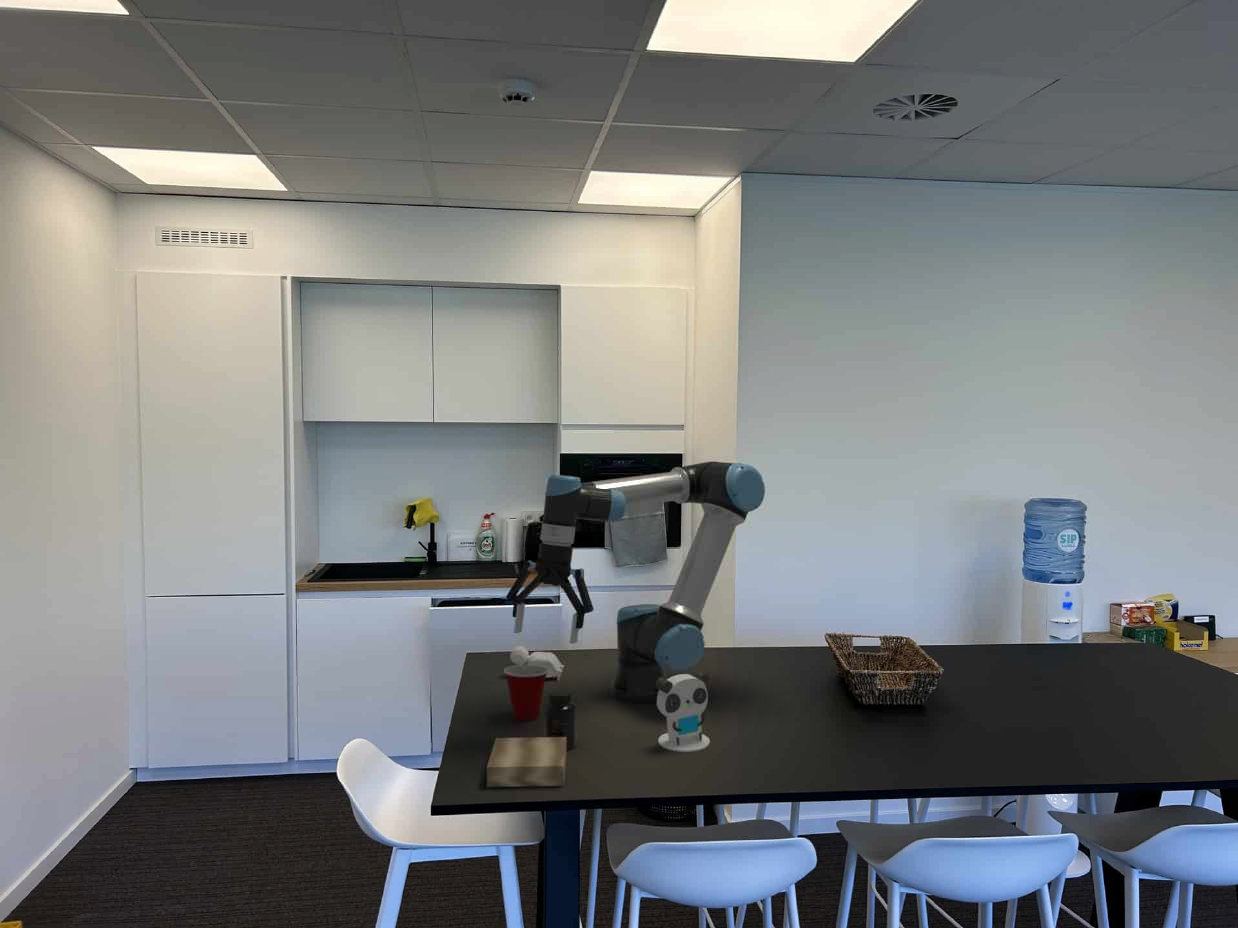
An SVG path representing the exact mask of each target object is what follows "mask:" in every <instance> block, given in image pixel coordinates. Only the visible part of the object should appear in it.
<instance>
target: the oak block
mask: <svg viewBox="0 0 1238 928" xmlns="http://www.w3.org/2000/svg"><path fill="white" fill-rule="evenodd" d="M567 751H568V750H567V746H566V737H545V736H544V737H543V736H541V737H539V736H538V737H496V738H495V741H494V743H493V746H492V750H491V753H490V756H489V759H488V762H487V766H486V787H487V788H493V787H494V788H500V787H501V788H502V787H503V788H505V787H509V788H510V787H512V788H513V787H515V788H516V787H560V786H561V787H563V786H564V784H565V775H566V766H567V765H566V764H567V757H568V756H567V754H568V753H567Z"/></svg>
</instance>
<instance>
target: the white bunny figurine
mask: <svg viewBox="0 0 1238 928" xmlns="http://www.w3.org/2000/svg"><path fill="white" fill-rule="evenodd" d="M509 656H510V660H511V662H512V663H514V664H515V665H537V666H543V667H546V668H548V670H549V671H548V673H547V675H546V678H545V679H547V678H550V679H551V678H557V681H558V682H559V681H560V679H561V675H562V673H563V670H564V667H565V665H564V664H562V663H561V662H560V660H559V658H558V657H557V656H556V655H555V654H554V653H552V652H551V651H549V652H546V651H545V652H544V651H534V652H532V653H530V655H529V651H528V649H527V648H526V647H525V646H523V645H517V646H514V647H513V648H512V649H511V652H510V655H509ZM526 663H527V664H526Z"/></svg>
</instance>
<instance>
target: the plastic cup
mask: <svg viewBox="0 0 1238 928" xmlns="http://www.w3.org/2000/svg"><path fill="white" fill-rule="evenodd" d="M548 671H549V670H548V668H546V667H543V666H537V665H527V664H524V665H518V664H516V665H511V666H508V667H505V668H503V673H504V674H505V677H506V682H507V686H508V692H509V699H510V705H511V706H512V707H511V708H512V713H513V716H514V719H515V720H516V721H518V722H532V721H535V720H537V719H538V718H539V715H540V711H541V704H542V700H543V694H544V687H545V682H546V679H547V678H546V675H547V673H548Z"/></svg>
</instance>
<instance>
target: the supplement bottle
mask: <svg viewBox="0 0 1238 928" xmlns="http://www.w3.org/2000/svg"><path fill="white" fill-rule="evenodd" d="M571 693H572V692H571V691H570V690H568V689H566V688H565V689H564V688H563V689H562V688H557V689H553V690H551V691H549V693H548V702H549V703H547V705H546V706H545V708H544V731H545V733H544V735H545V736H544V737H566V746H567V751H568V750H572V749H573V748H574V747H576V745H577V709H576V706H575V704H574V703H573V702H572V695H571Z"/></svg>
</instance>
